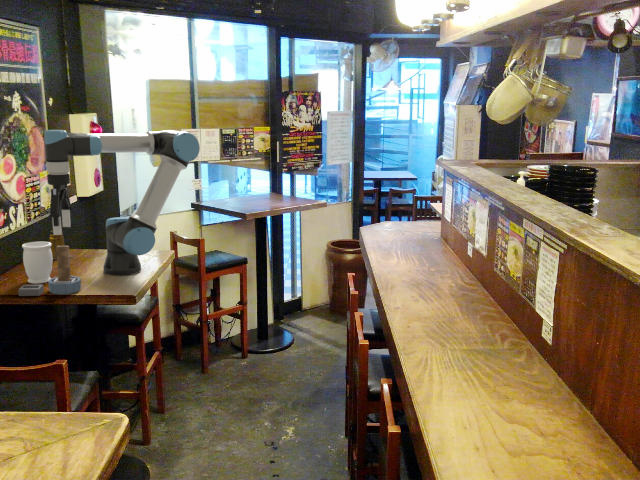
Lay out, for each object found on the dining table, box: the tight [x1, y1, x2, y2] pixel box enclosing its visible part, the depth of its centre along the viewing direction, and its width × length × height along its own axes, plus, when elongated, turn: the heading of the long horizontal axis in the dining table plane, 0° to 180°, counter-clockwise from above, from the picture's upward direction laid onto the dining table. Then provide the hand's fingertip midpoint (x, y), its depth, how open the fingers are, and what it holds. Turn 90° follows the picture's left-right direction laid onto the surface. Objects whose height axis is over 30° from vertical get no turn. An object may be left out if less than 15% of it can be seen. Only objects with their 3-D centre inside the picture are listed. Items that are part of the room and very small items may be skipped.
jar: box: [21, 240, 54, 285], centre depth 236 cm, size 11×10×15 cm
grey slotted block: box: [18, 284, 45, 297], centre depth 222 cm, size 7×6×2 cm
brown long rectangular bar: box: [56, 245, 72, 281], centre depth 226 cm, size 4×2×16 cm, turn 100°
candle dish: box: [47, 275, 82, 296], centre depth 227 cm, size 11×11×4 cm
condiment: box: [49, 230, 73, 260], centre depth 273 cm, size 7×8×12 cm
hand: (62, 230), depth 223 cm, fingers open, 13 cm apart
